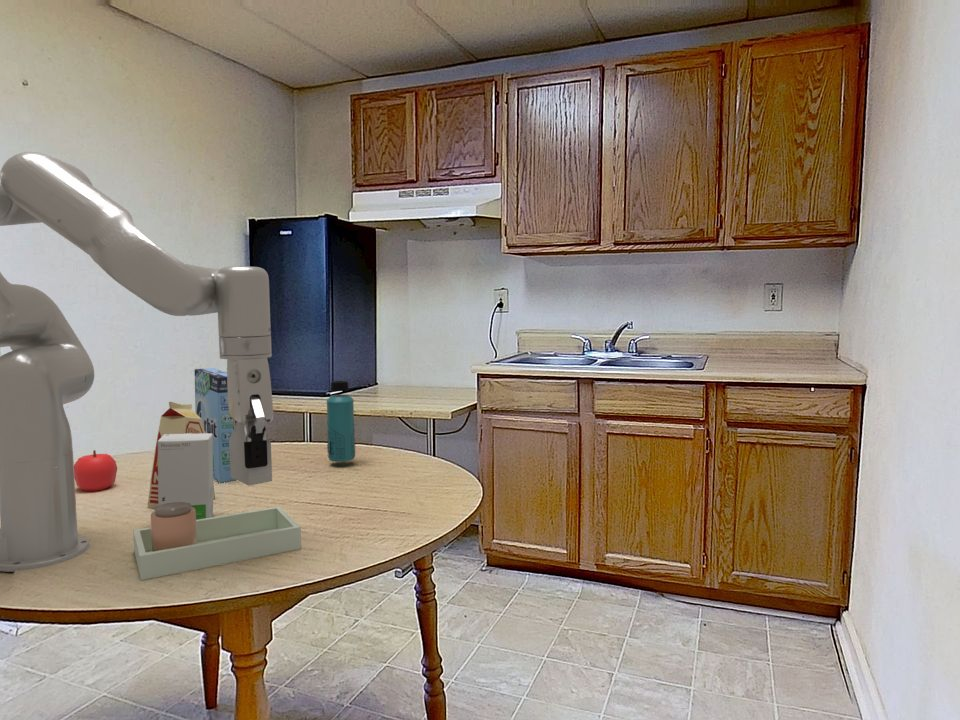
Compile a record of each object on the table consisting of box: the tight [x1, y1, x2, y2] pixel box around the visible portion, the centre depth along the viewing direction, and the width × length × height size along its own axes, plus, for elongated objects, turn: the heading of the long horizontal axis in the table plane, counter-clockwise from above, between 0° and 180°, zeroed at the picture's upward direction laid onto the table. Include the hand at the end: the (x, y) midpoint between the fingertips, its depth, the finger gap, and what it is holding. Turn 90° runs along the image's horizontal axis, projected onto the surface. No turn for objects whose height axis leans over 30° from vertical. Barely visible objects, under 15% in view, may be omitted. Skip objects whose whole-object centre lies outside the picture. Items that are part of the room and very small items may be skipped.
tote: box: [132, 505, 302, 582], centre depth 100 cm, size 22×12×4 cm, turn 122°
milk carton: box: [147, 401, 216, 509], centre depth 125 cm, size 9×9×20 cm
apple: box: [74, 449, 118, 492], centre depth 136 cm, size 8×8×8 cm
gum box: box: [193, 367, 237, 484], centre depth 147 cm, size 19×5×23 cm, turn 37°
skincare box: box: [158, 433, 214, 520], centre depth 113 cm, size 8×7×16 cm
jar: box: [150, 502, 197, 552], centre depth 97 cm, size 6×6×8 cm
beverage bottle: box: [326, 380, 356, 463], centre depth 154 cm, size 6×7×20 cm
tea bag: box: [229, 419, 273, 487], centre depth 102 cm, size 4×7×10 cm, turn 43°
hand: (250, 460), depth 102 cm, fingers closed on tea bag, 7 cm apart
